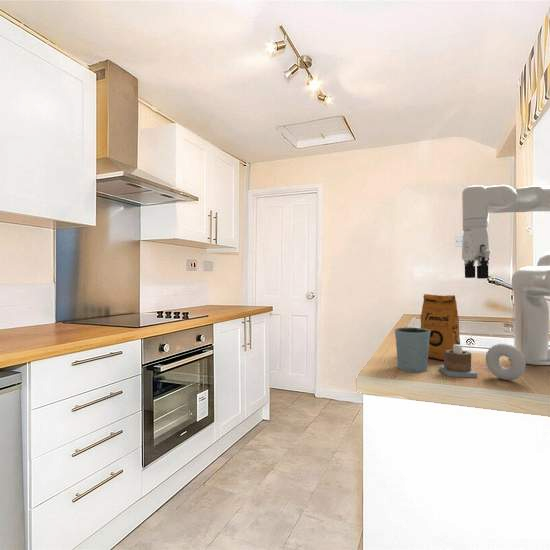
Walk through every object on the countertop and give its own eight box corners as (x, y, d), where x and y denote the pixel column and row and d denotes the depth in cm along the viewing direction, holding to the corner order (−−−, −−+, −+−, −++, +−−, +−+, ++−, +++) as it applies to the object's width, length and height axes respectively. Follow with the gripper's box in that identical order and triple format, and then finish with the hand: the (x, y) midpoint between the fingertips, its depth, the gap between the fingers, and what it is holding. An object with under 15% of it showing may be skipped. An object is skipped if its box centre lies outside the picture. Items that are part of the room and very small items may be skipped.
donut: (483, 377, 109) (483, 341, 109) (488, 375, 111) (489, 340, 111) (522, 385, 101) (522, 347, 101) (527, 383, 103) (528, 345, 103)
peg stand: (466, 370, 116) (467, 343, 116) (477, 377, 108) (477, 348, 108) (439, 369, 117) (439, 342, 117) (447, 376, 109) (447, 347, 109)
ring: (442, 365, 116) (442, 349, 116) (465, 366, 116) (465, 350, 115) (449, 371, 110) (449, 353, 110) (473, 372, 109) (473, 354, 109)
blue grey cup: (432, 367, 119) (432, 329, 119) (426, 375, 110) (427, 333, 110) (398, 363, 124) (399, 326, 124) (390, 370, 116) (391, 330, 116)
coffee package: (452, 364, 124) (453, 295, 124) (416, 357, 133) (416, 294, 133) (465, 359, 131) (465, 294, 131) (429, 353, 140) (430, 293, 140)
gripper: (453, 228, 133) (454, 277, 134) (474, 222, 116) (474, 278, 116) (476, 227, 133) (477, 277, 133) (500, 221, 115) (501, 278, 116)
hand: (476, 278), depth 125 cm, fingers open, 9 cm apart
